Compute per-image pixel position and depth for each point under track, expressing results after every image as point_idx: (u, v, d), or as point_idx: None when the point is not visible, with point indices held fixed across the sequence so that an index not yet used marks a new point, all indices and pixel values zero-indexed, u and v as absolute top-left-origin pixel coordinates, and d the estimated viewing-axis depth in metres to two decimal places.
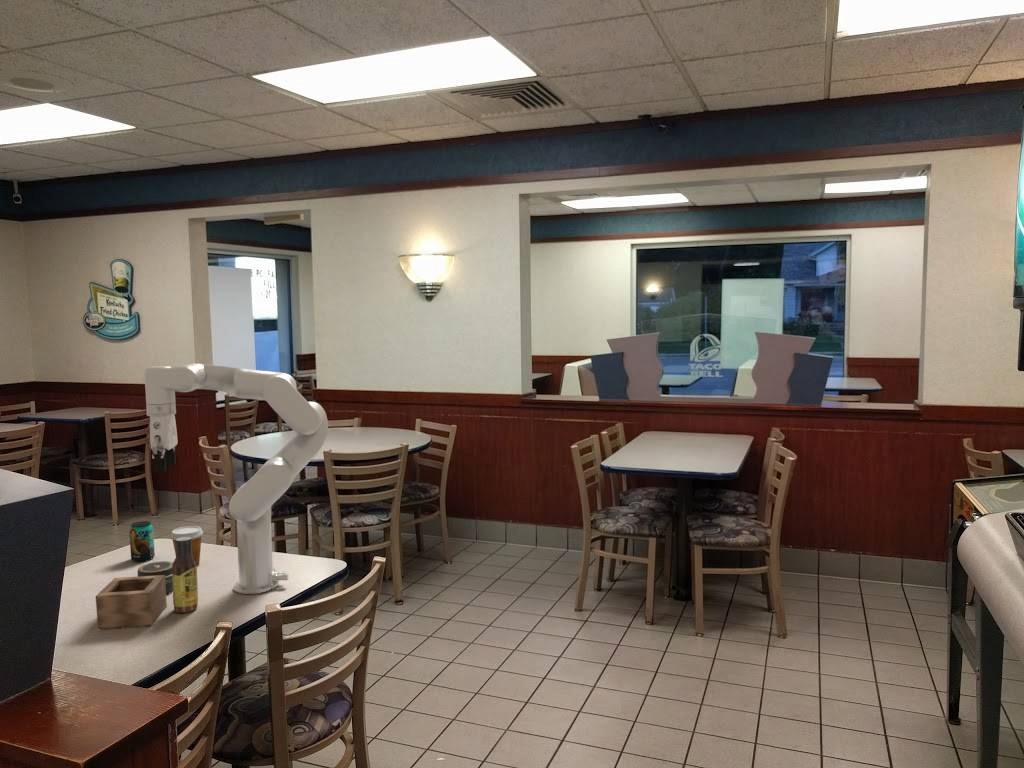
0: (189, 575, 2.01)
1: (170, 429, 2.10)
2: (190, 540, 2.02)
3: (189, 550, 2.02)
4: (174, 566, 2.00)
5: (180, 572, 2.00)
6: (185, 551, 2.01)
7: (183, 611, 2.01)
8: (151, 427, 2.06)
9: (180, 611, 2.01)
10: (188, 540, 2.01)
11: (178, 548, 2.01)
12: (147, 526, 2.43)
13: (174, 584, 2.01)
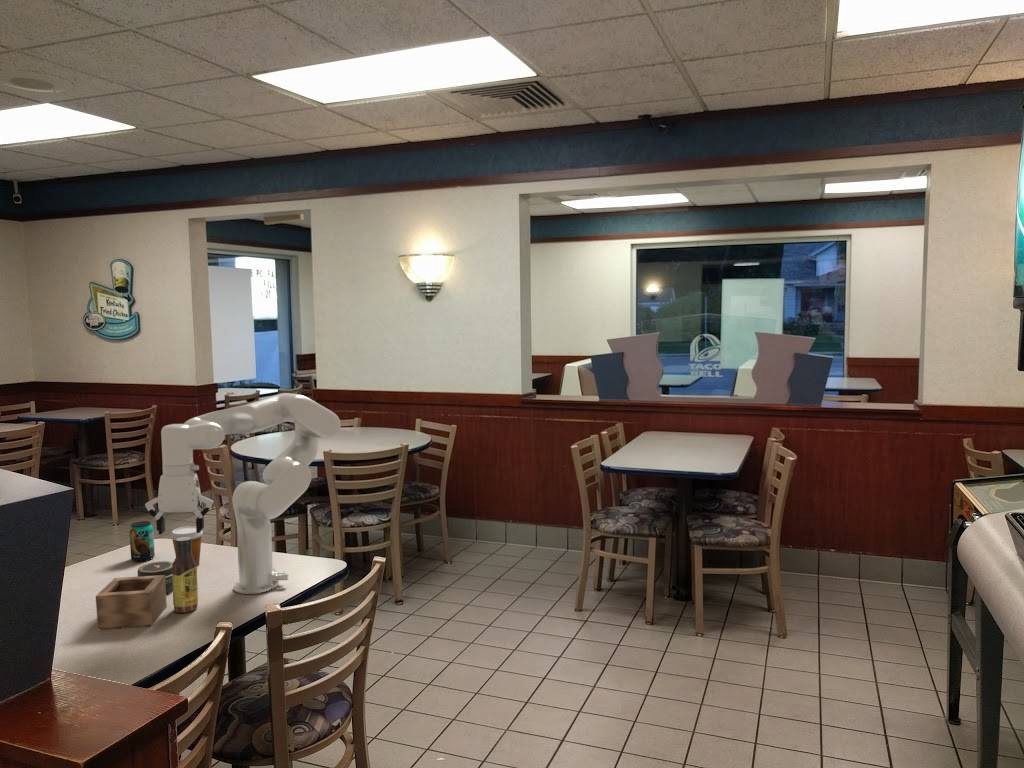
0: (189, 575, 2.01)
1: None
2: (190, 540, 2.02)
3: (189, 550, 2.02)
4: (174, 566, 2.00)
5: (180, 572, 2.00)
6: (185, 551, 2.01)
7: (183, 611, 2.01)
8: (195, 486, 1.99)
9: (180, 611, 2.01)
10: (188, 540, 2.01)
11: (178, 548, 2.01)
12: (147, 526, 2.43)
13: (174, 584, 2.01)
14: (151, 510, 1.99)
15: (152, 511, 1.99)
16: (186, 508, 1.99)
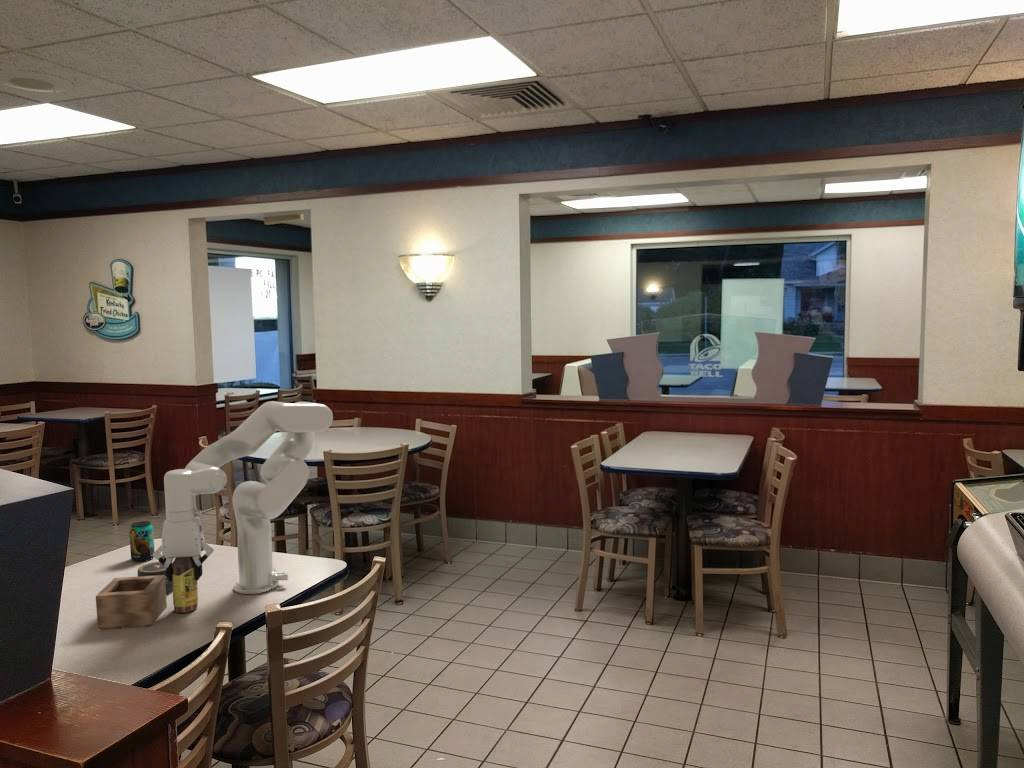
0: (189, 575, 2.01)
1: None
2: None
3: None
4: (174, 566, 2.00)
5: (180, 572, 2.00)
6: None
7: (183, 611, 2.01)
8: (198, 531, 2.01)
9: (180, 611, 2.01)
10: None
11: None
12: (147, 526, 2.43)
13: (174, 584, 2.01)
14: (161, 558, 2.01)
15: (162, 559, 2.01)
16: (190, 553, 2.00)
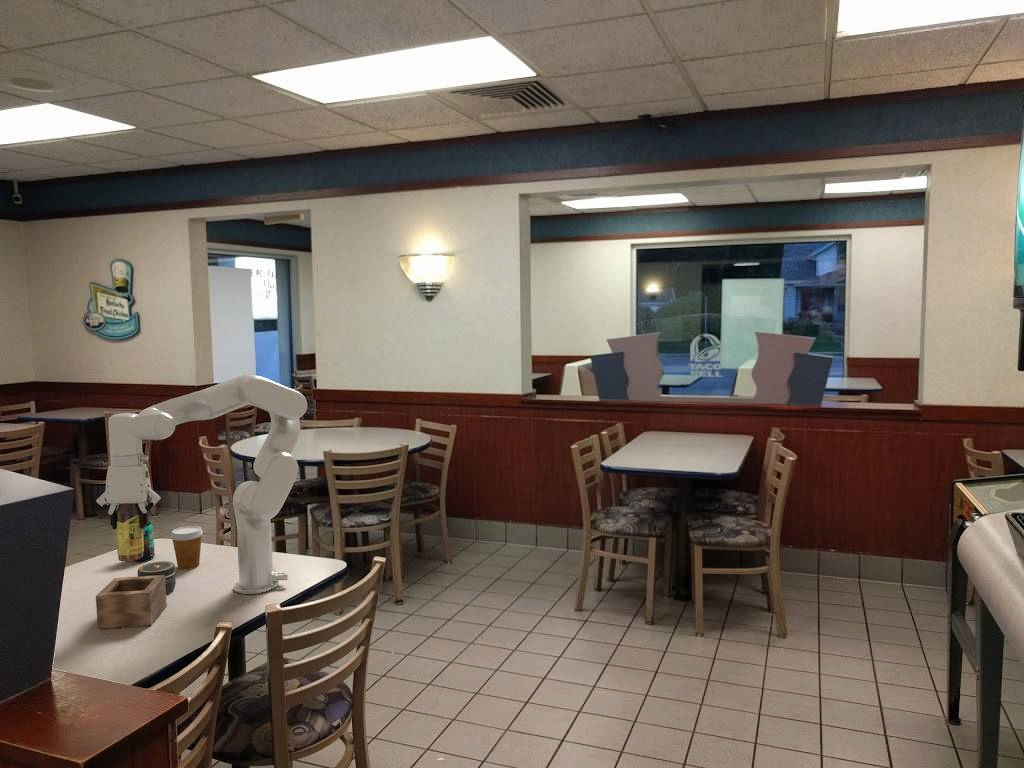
0: (134, 523, 1.94)
1: None
2: None
3: None
4: (118, 513, 1.94)
5: (124, 519, 1.93)
6: None
7: (127, 560, 1.94)
8: (144, 477, 1.94)
9: (124, 559, 1.94)
10: None
11: None
12: (147, 526, 2.43)
13: (118, 531, 1.94)
14: (105, 505, 1.94)
15: (106, 506, 1.94)
16: (135, 499, 1.94)
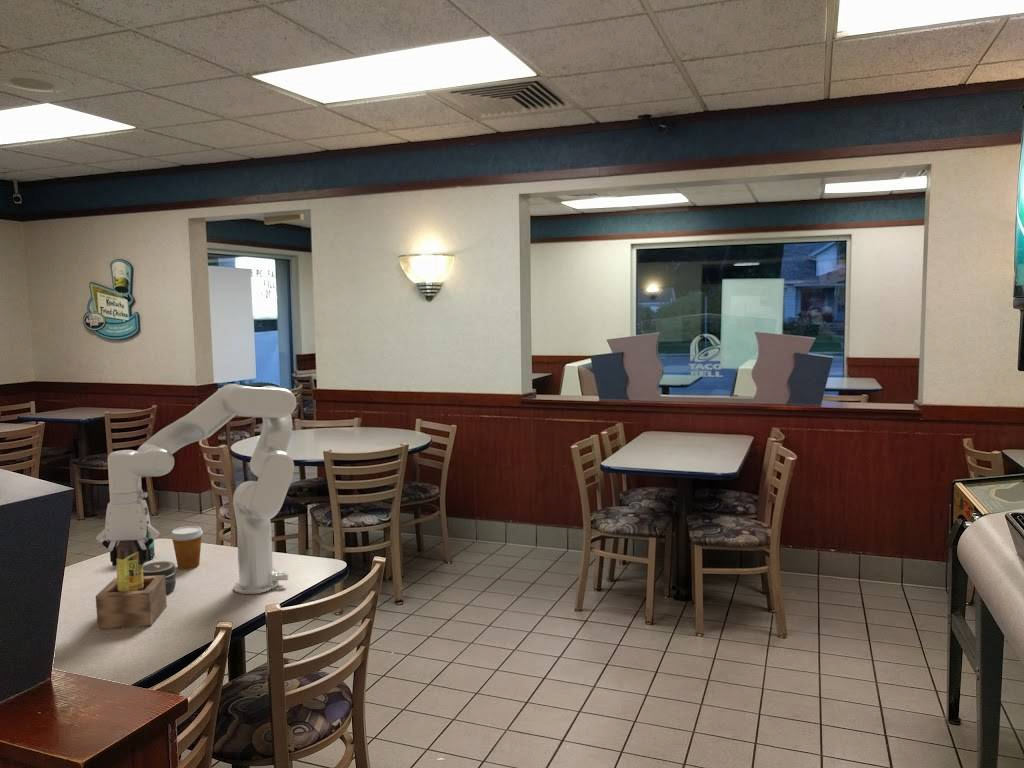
0: (133, 559, 1.95)
1: None
2: None
3: None
4: (118, 549, 1.94)
5: (124, 556, 1.94)
6: None
7: None
8: (143, 514, 1.95)
9: None
10: None
11: None
12: None
13: (118, 568, 1.94)
14: (104, 541, 1.95)
15: (105, 542, 1.95)
16: (134, 536, 1.94)
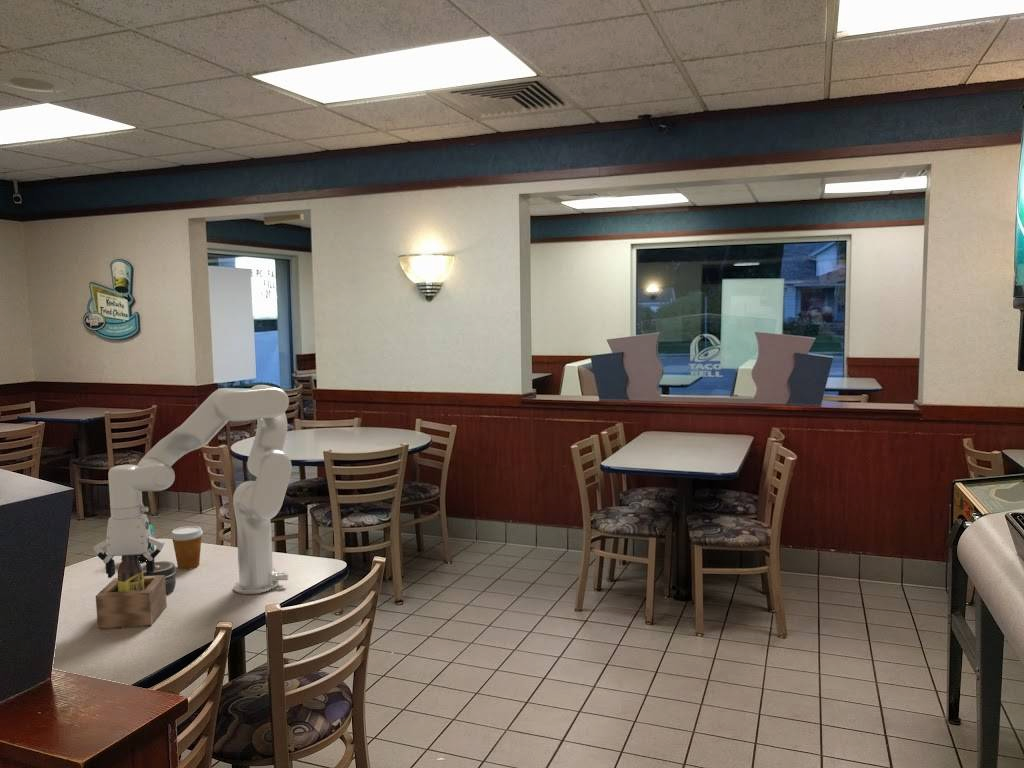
0: (135, 581, 1.95)
1: None
2: None
3: (134, 555, 1.97)
4: (119, 572, 1.95)
5: (125, 578, 1.95)
6: (130, 556, 1.96)
7: None
8: (144, 529, 1.95)
9: None
10: None
11: None
12: None
13: (119, 590, 1.95)
14: (100, 553, 1.95)
15: (101, 554, 1.95)
16: (135, 551, 1.95)
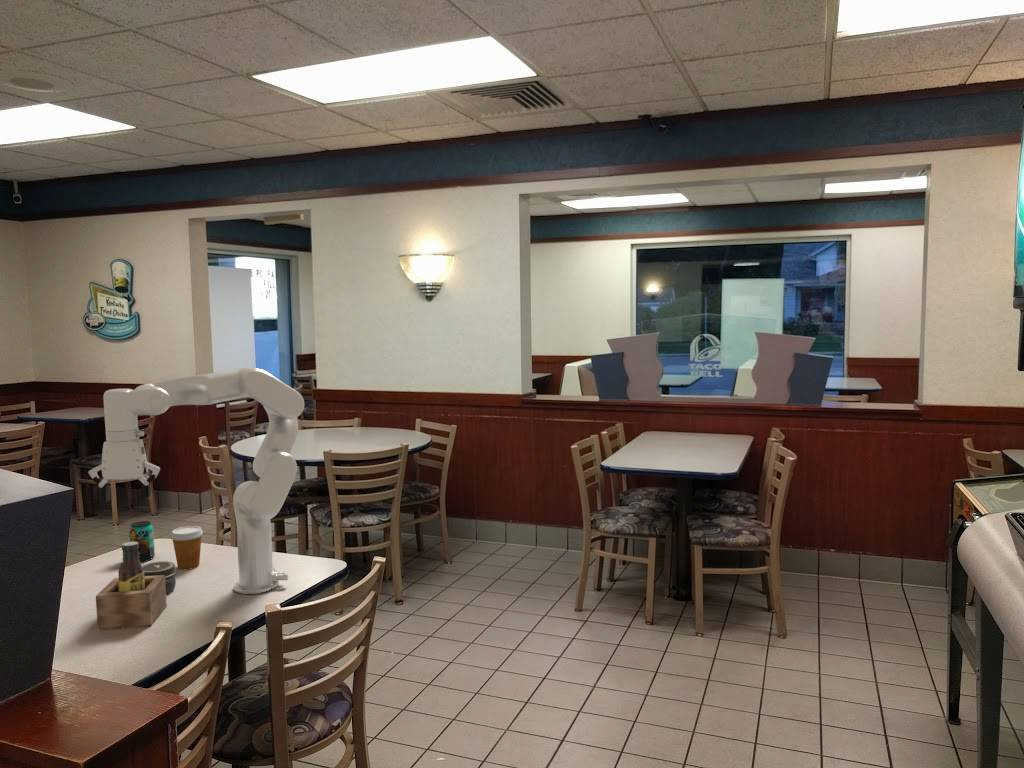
0: (135, 581, 1.96)
1: None
2: (137, 545, 1.97)
3: (136, 555, 1.97)
4: (120, 572, 1.95)
5: (126, 578, 1.95)
6: (132, 556, 1.96)
7: None
8: (140, 453, 1.93)
9: None
10: (134, 545, 1.96)
11: (124, 553, 1.96)
12: (147, 526, 2.43)
13: (120, 590, 1.95)
14: (95, 477, 1.93)
15: (96, 478, 1.93)
16: (131, 475, 1.93)
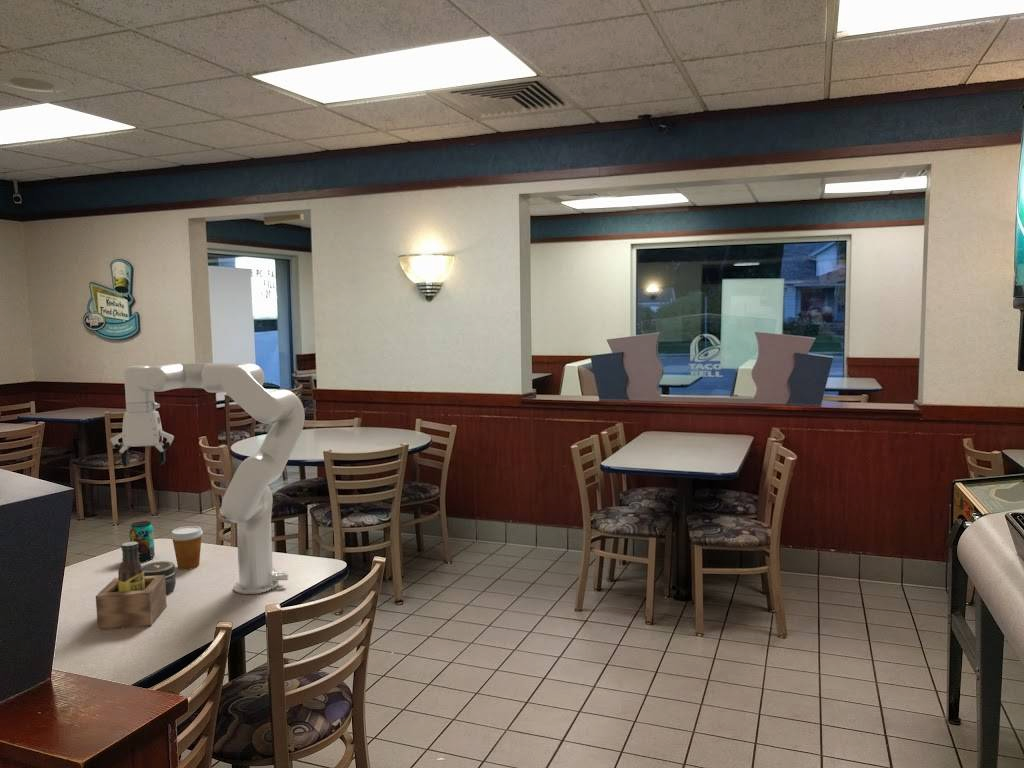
0: (135, 581, 1.96)
1: None
2: (136, 545, 1.97)
3: (135, 555, 1.97)
4: (120, 572, 1.95)
5: (125, 578, 1.95)
6: (131, 556, 1.96)
7: None
8: (156, 422, 2.17)
9: None
10: (134, 545, 1.96)
11: (124, 553, 1.96)
12: (147, 526, 2.43)
13: (120, 590, 1.95)
14: (116, 444, 2.17)
15: (117, 445, 2.17)
16: (148, 442, 2.17)
